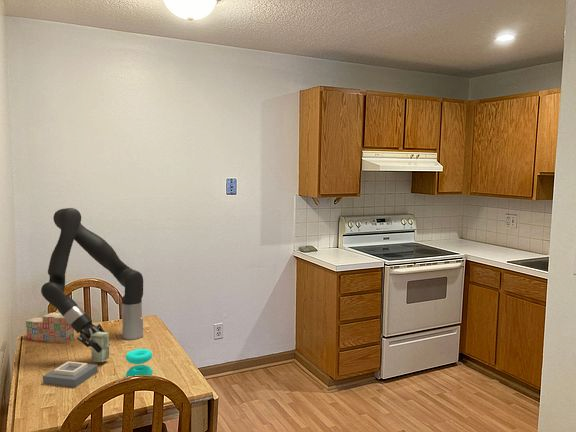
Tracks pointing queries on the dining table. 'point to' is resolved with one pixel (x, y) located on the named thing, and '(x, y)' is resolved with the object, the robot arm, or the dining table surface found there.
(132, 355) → the donuts
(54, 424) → the dining table surface
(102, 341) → the pillar
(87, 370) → the plinth
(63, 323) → the stack of blocks
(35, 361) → the dining table surface
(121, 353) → the dining table surface
